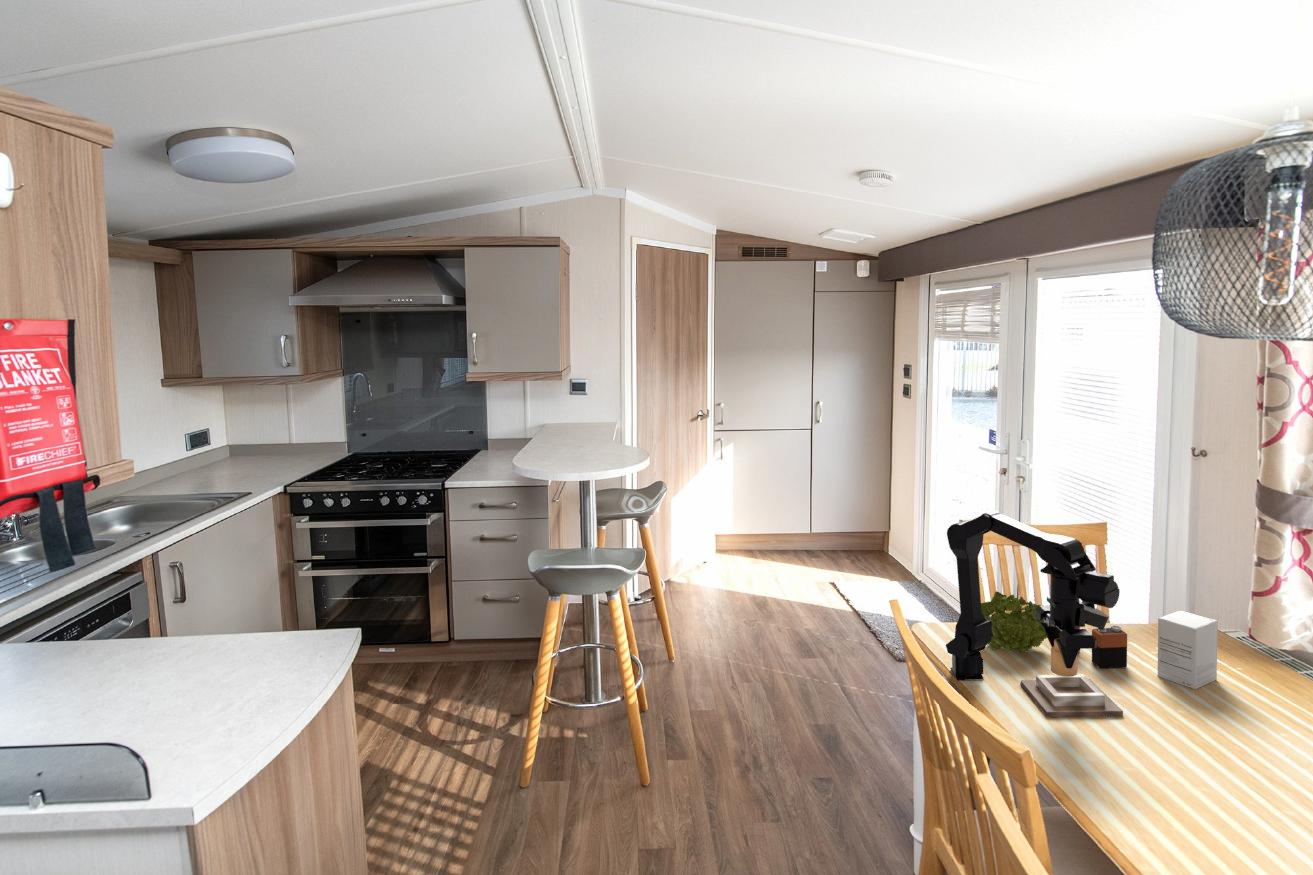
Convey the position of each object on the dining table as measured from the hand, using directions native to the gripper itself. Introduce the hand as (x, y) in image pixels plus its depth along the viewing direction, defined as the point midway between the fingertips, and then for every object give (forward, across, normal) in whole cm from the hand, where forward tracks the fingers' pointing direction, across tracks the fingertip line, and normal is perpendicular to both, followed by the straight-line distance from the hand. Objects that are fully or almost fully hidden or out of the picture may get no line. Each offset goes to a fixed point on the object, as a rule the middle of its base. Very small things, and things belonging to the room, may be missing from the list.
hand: (1063, 662), depth 172 cm
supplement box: (+12, +17, -34) cm, 40 cm away
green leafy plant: (+12, +35, 0) cm, 37 cm away
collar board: (+12, +6, -4) cm, 14 cm away
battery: (+12, +24, -20) cm, 34 cm away
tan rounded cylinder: (+2, 0, 0) cm, 2 cm away
